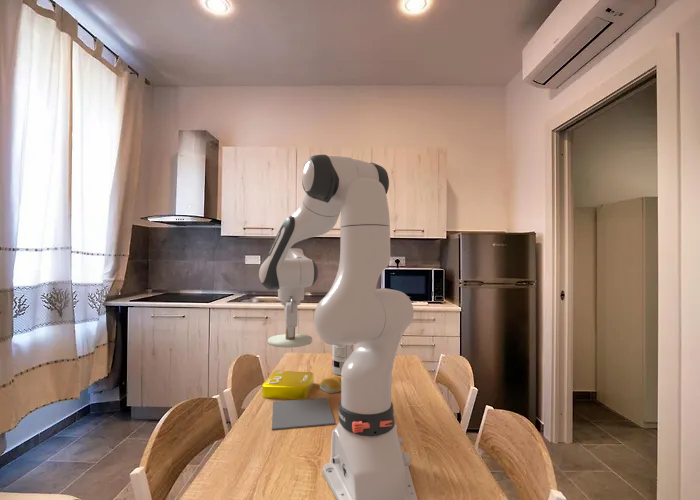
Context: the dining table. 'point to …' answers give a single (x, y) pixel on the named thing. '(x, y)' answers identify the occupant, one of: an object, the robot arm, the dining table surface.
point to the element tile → (288, 385)
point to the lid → (289, 340)
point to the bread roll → (331, 385)
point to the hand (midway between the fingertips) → (290, 335)
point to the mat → (301, 413)
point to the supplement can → (340, 357)
